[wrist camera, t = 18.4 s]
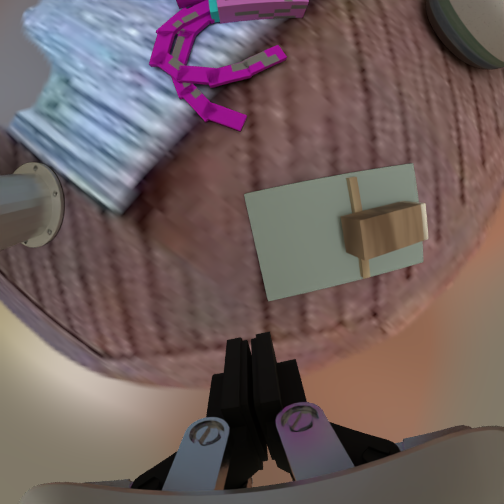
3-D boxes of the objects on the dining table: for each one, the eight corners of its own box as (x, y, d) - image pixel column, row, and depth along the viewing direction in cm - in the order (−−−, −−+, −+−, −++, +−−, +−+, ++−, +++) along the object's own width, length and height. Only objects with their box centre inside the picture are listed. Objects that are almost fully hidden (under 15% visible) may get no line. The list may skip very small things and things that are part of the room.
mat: (267, 299, 40) (267, 301, 39) (243, 194, 36) (243, 194, 36) (421, 260, 39) (423, 261, 38) (410, 163, 36) (413, 163, 35)
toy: (333, 118, 30) (151, 142, 30) (322, 125, 35) (163, 146, 35) (292, -52, 23) (142, -33, 24) (287, -34, 28) (151, -16, 28)
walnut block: (364, 260, 32) (428, 238, 33) (359, 220, 31) (425, 203, 32) (345, 252, 36) (406, 233, 37) (340, 216, 35) (403, 200, 36)
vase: (397, 8, 29) (485, -69, 6) (442, -19, 27) (515, -73, 3) (467, 92, 33) (583, 67, 9) (501, 52, 30) (590, 27, 7)
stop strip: (360, 275, 39) (363, 278, 37) (346, 177, 35) (349, 178, 34) (367, 274, 39) (370, 276, 37) (353, 176, 35) (356, 176, 34)
